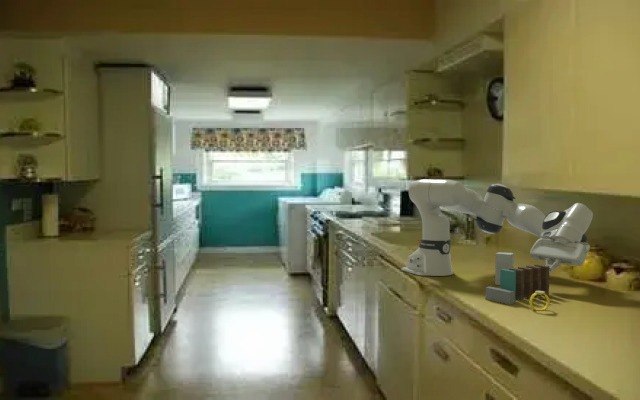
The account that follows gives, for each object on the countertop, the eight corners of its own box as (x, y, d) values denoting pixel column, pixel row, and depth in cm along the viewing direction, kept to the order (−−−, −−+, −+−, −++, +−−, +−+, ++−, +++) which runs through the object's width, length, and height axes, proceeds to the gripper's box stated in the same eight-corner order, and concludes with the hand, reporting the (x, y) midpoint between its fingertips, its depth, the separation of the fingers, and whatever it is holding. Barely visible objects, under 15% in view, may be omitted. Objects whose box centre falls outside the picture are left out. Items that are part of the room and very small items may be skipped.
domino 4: (537, 296, 215) (538, 267, 214) (525, 294, 219) (526, 265, 218) (540, 296, 216) (541, 267, 215) (528, 293, 220) (529, 265, 219)
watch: (545, 309, 197) (547, 291, 197) (550, 311, 194) (551, 292, 194) (527, 308, 196) (529, 290, 196) (531, 310, 193) (533, 291, 193)
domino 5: (545, 295, 217) (546, 266, 217) (533, 292, 221) (534, 264, 221) (548, 294, 218) (549, 266, 217) (536, 292, 222) (537, 264, 222)
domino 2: (520, 300, 210) (521, 270, 209) (508, 297, 214) (509, 268, 213) (523, 299, 210) (524, 269, 210) (511, 296, 215) (512, 267, 214)
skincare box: (513, 284, 236) (514, 253, 235) (511, 286, 233) (511, 254, 232) (497, 283, 239) (498, 251, 239) (494, 285, 236) (495, 253, 235)
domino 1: (512, 301, 207) (512, 271, 206) (499, 298, 211) (500, 269, 210) (515, 301, 208) (515, 271, 207) (503, 298, 212) (503, 269, 211)
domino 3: (529, 298, 212) (530, 269, 211) (517, 295, 216) (517, 267, 216) (532, 297, 213) (533, 268, 212) (520, 295, 217) (520, 266, 216)
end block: (485, 299, 211) (485, 287, 210) (490, 298, 212) (490, 286, 212) (509, 304, 202) (509, 292, 202) (514, 303, 204) (514, 291, 204)
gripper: (595, 249, 219) (578, 280, 214) (545, 243, 236) (528, 271, 231) (588, 237, 216) (571, 268, 211) (538, 232, 233) (520, 260, 228)
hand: (548, 270), depth 221 cm, fingers closed
